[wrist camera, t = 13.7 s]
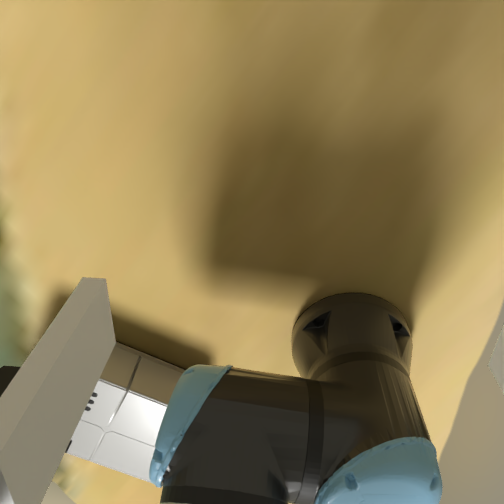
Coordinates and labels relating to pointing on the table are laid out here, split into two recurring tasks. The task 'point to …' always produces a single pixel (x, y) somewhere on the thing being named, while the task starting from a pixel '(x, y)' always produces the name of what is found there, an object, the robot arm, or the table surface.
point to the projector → (125, 412)
